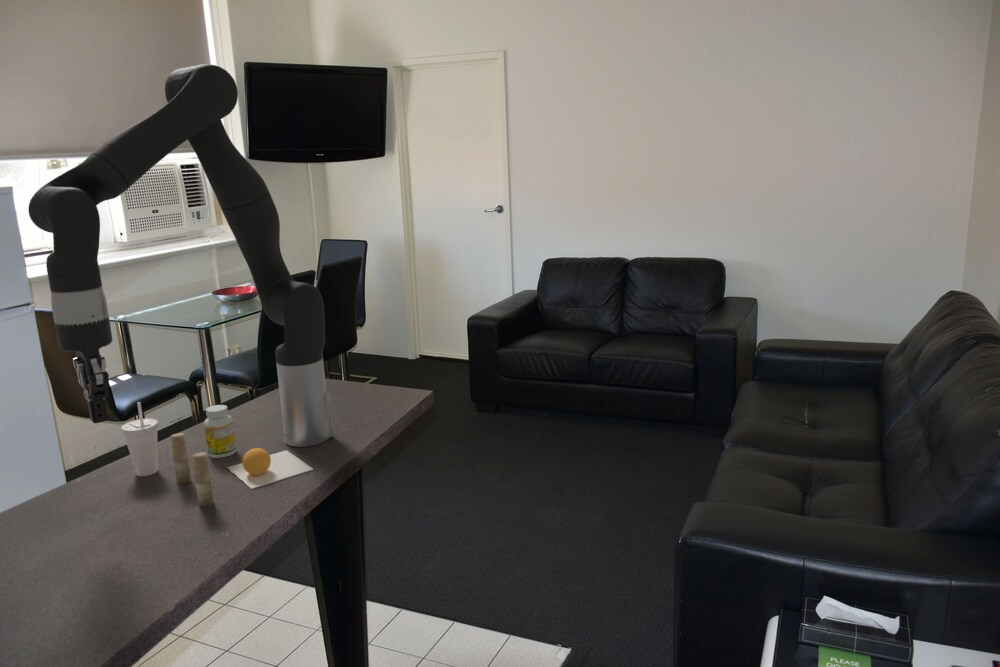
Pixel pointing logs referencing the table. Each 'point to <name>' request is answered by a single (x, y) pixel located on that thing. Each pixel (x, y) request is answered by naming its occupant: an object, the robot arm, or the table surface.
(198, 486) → the post
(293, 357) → the robot arm
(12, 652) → the table surface
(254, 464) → the ball
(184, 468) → the post
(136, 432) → the smoothie
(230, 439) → the supplement bottle
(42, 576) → the table surface
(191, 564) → the table surface
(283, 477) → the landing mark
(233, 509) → the table surface
